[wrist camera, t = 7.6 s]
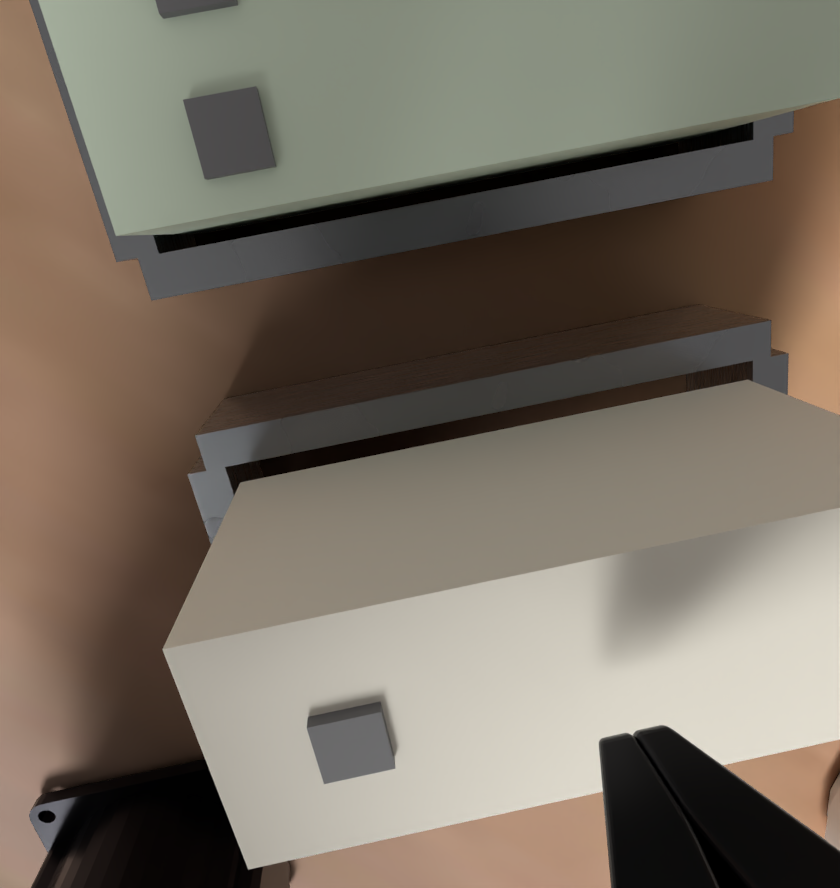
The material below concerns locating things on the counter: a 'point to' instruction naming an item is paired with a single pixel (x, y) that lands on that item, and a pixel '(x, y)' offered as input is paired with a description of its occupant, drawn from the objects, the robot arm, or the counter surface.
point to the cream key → (514, 615)
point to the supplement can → (834, 815)
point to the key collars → (473, 371)
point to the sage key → (407, 92)
